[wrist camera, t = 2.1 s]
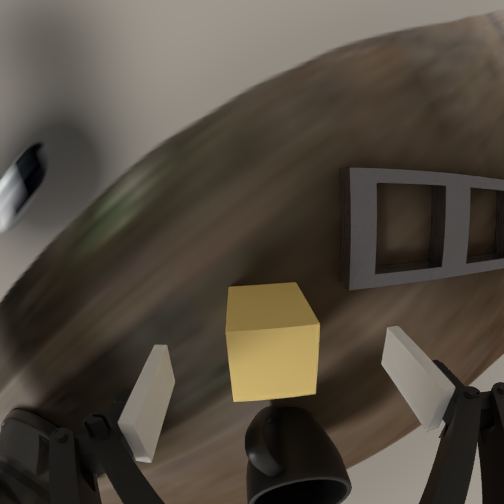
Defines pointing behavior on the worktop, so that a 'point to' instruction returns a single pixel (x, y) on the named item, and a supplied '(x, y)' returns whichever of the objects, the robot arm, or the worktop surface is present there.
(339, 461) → the mug
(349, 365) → the worktop surface
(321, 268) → the worktop surface
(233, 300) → the yellow block
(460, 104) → the worktop surface
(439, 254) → the frame with square openings
